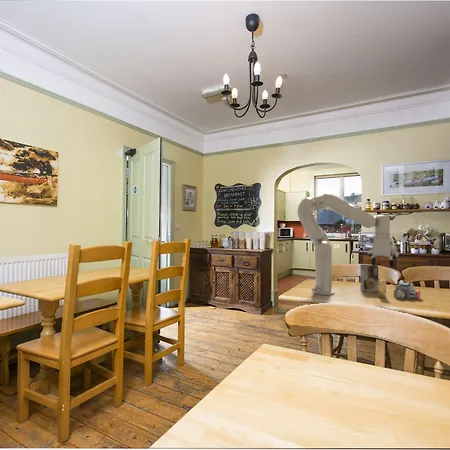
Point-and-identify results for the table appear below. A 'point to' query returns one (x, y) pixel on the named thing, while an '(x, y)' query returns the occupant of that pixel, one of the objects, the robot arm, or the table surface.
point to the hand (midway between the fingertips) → (382, 266)
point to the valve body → (406, 292)
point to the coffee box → (369, 277)
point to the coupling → (381, 288)
